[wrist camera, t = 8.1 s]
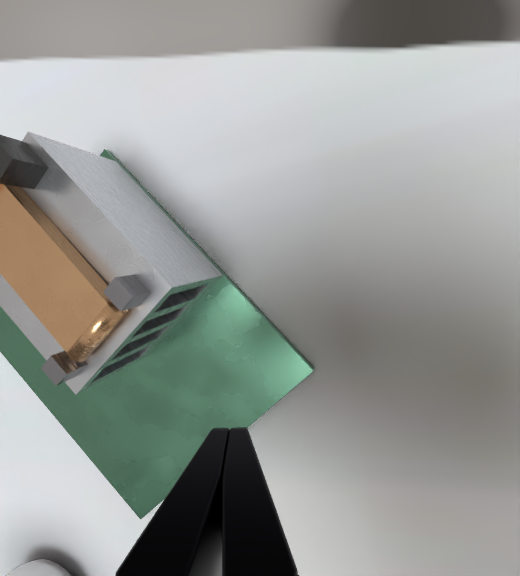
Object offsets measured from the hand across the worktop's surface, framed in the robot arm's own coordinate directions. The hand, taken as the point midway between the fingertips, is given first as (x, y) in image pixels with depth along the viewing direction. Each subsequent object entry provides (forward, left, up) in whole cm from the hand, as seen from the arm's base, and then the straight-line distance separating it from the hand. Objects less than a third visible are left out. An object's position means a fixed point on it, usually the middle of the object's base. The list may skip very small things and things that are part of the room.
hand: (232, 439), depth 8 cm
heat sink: (-5, +10, -11) cm, 15 cm away
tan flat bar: (+1, +11, -5) cm, 12 cm away
